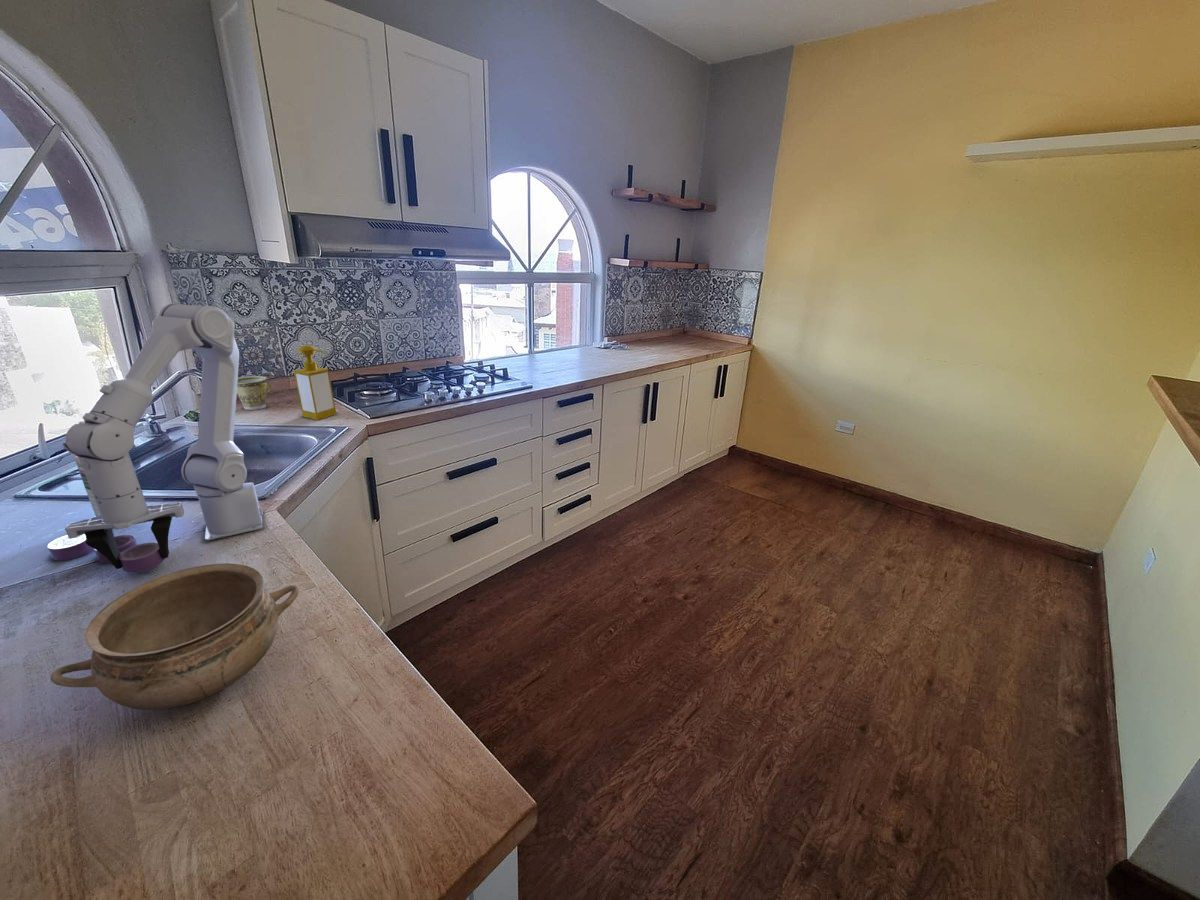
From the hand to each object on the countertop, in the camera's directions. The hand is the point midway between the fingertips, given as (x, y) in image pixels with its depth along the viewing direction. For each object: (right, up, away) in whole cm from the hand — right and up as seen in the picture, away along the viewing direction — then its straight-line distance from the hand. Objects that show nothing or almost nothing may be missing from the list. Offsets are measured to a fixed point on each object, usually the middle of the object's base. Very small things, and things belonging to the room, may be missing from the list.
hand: (143, 560), depth 88 cm
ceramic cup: (-39, +34, +88) cm, 102 cm away
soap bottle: (-13, +31, +81) cm, 87 cm away
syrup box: (-20, +5, +17) cm, 27 cm away
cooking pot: (+27, -12, -20) cm, 36 cm away
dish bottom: (-9, 0, +5) cm, 11 cm away
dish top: (-18, 0, +5) cm, 18 cm away
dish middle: (0, -1, 0) cm, 0 cm away
